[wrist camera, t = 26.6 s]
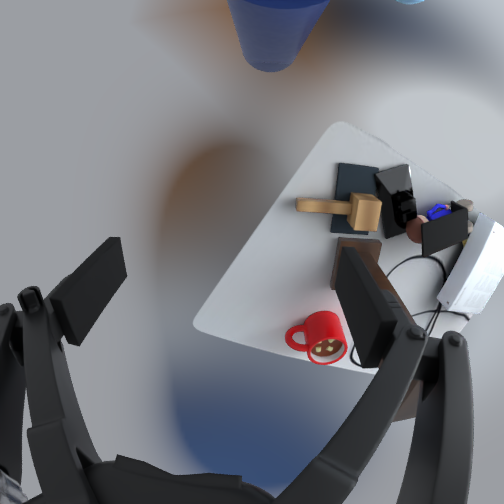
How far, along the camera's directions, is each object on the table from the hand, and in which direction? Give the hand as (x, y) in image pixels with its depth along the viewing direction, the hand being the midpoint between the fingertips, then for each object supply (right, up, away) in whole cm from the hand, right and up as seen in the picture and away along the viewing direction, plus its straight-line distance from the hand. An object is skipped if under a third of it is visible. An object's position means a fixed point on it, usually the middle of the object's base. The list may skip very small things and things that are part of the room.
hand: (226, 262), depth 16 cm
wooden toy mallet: (+15, +8, +29) cm, 34 cm away
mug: (+14, -15, +41) cm, 46 cm away
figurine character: (+36, +7, +29) cm, 47 cm away
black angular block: (+27, +9, +29) cm, 40 cm away
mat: (+19, +9, +29) cm, 36 cm away
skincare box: (+59, -4, +32) cm, 68 cm away
